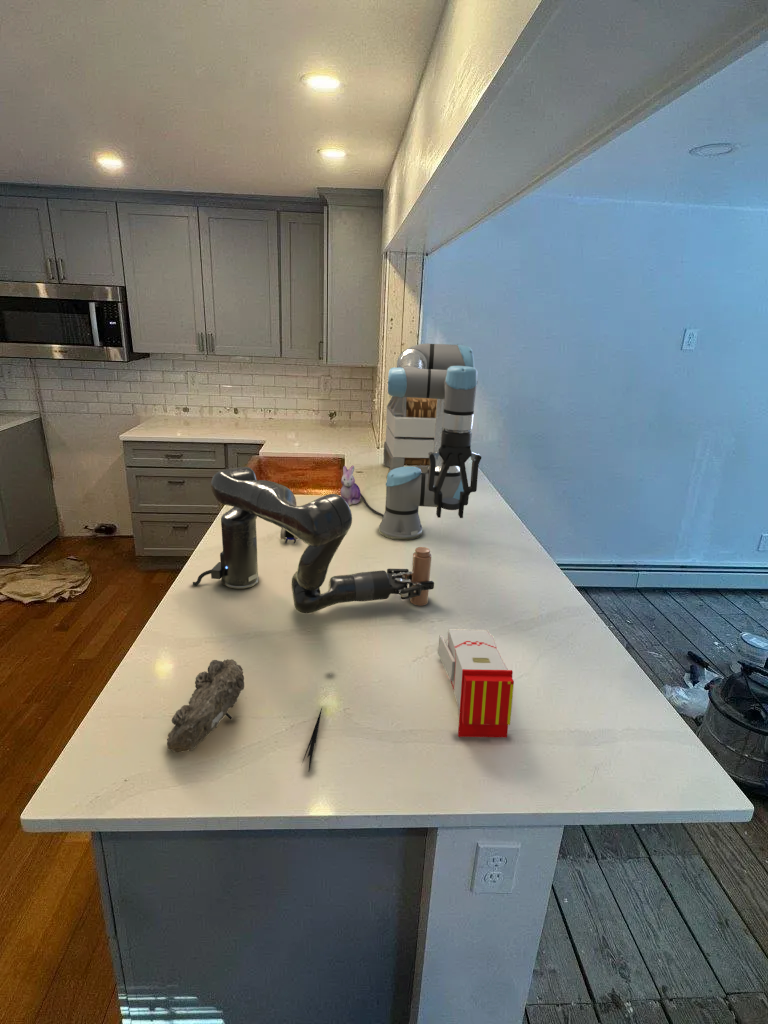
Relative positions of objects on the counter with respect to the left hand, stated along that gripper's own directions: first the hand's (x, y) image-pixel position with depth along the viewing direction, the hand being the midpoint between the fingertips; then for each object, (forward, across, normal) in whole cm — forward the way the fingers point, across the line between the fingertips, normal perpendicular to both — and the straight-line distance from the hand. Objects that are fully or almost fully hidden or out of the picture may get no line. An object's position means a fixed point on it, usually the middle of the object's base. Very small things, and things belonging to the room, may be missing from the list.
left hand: (429, 580), depth 153 cm
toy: (-6, -39, +6) cm, 40 cm away
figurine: (-2, +84, +6) cm, 84 cm away
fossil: (-57, -34, +6) cm, 67 cm away
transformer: (+41, +120, +6) cm, 127 cm away
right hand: (+5, +2, -18) cm, 18 cm away
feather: (-38, -40, +6) cm, 55 cm away
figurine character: (-30, +51, +6) cm, 59 cm away
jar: (-3, 0, +6) cm, 7 cm away
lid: (+5, +2, -21) cm, 22 cm away
